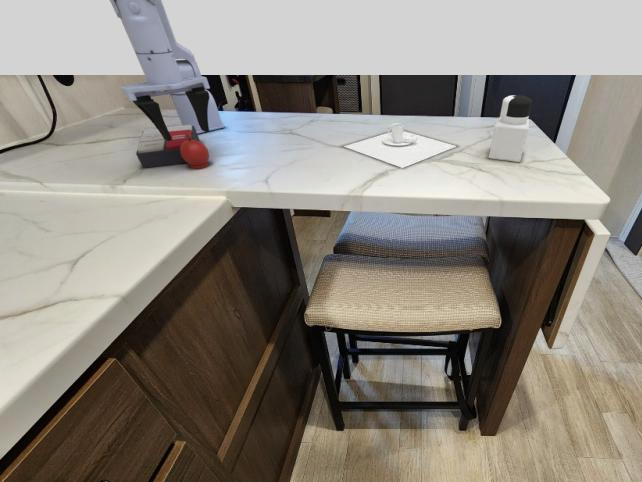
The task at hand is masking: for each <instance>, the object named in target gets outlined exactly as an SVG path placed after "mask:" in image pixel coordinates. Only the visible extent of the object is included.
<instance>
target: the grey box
mask: <svg viewBox="0 0 642 482" xmlns="http://www.w3.org/2000/svg"><path fill="white" fill-rule="evenodd" d="M166 127H167V129H168V131H169V133H170V135H171V138H172V140H171V141H167V140H165V139H164V138H163V136H162V135H161V133H160V132H159V130H158V129H157V128H156V127H151V128H144V129H143V130H142V132H141V136H140V139H139V142H138V145H137V149H136V153H135V155H136V157H137V159H138V161H139V163H140V165H141V166H142V168H143V169H147V168H155V167H162V166H171V165H178V164H186V163H187V162H186V161H185V160H184V159H183V158H182V156H181V153H180V147H181V145H182V143H183V142H185V141H187V140H188V138H187V136H186V135H187V134H189V136H190V139H191V140H197V141H199V142H201V140H200V136H199V134H197V132H196V129H195V127H194V126H192V125H183V126H182V125H173V126H166ZM187 164H188V163H187Z"/></svg>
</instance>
